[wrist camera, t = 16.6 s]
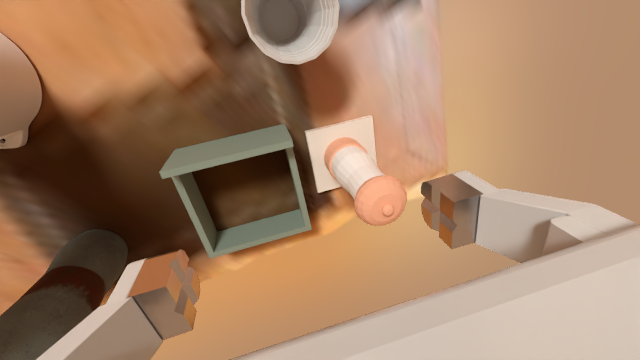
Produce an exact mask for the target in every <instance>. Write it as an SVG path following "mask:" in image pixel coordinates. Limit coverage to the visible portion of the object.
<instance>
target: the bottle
mask: <svg viewBox="0 0 640 360" xmlns="http://www.w3.org/2000/svg"><path fill="white" fill-rule="evenodd" d="M127 255H128V247H127V244H126V242H125V241H124V240H123V238H121V237H120V236H119V235H117V234H116V233H113V232H111V231H108V230H102V229H96V230H89V231H86V232H84V233H82V234H80V235H78V236H77V237H75V238H74V239H72V240H71V241H70V242H69V243H67V244H66V245H65V246H64V247H62V248H61V249H60V251H59V252H58V254H57V255H56V257H55V258H54V260H53V261H52V263H51V265H50V266H49V268H48V270H47V271H46V273H45V275H44V276H42V277H41V278H40V279H39V280H38V281H37V282H36V283H35V284H34V285H33V286H32V287H31V288H30V289H29V290H28V291H27V292H26V293H25V294H24V295H23V296H22V297H21V298H20V299H19V300H18V301H17V302H16V303H14V304H13V305H12V306H11V307H10V308H9V309H8V310H7V311H5V312H4V313H3V314H2V315H1V316H0V360H36V359H37V358H39V357H40V356H41V355H42V354H43V353H45V352H46V351H47V350H48V349H49V348H50V347H52V346H53V345H54V344H55V343H56V342H58V341H59V340H60V339H61V338H62V337H64V336H65V335H66V334H67V333H68V332H70V331H71V330H72V329H73V328H74V327H76V326H77V325H78V324H79V323H80V322H82V321H83V320H84V319H85V318H86V317H87V316H89V315H90V314H91V313H92V312H93V311H95V310H96V309H97V308H98V307H99V306H100V304H101V302H102V300H103V297H104V295H105V294H106V293H107V292H108V290H109V289H110V288H111V287H112V285H113V284H114V283H115V281H116V280H117V279H118V277H119V276H120V275H121V273H122V272H123V269H124V266H125V264H126V261H127Z"/></svg>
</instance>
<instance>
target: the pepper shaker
mask: <svg viewBox="0 0 640 360" xmlns="http://www.w3.org/2000/svg"><path fill="white" fill-rule="evenodd" d="M324 163H325V165H326V167H327V169H328V171H329V172H330V174H331V175H332V177H333V178H335V179H336V180H337V181H338V183H339V184H340V185H341V186H342V187H343V188H344V189H345V190H346V191H348V192H349V193H350V194H351V196H352V197H353V199H354V205H355V212H356V213H357V215H358V217H359V218H360V219H362V220H363V221H364V222H366V223H368V224H371V225H386V224H389V223H391V222H393V221H395V220H396V219H397V218H398V217H399V216H400V215H401V214H402V212H403V211H404V208H405V205H406V201H407V193H406V191H405V189H404V186H403V184H402V183H401V182H400V181H399V180H398V179H396V178H393V177H391V176H385V175H384V174H383V173H382V172H381V171H380V170H379V168H378V167H377V165H376V163H375V161H374V160H373V158H372V157H371V156H369V155H368V153H367V151H366V149H365V148H364V147H363V146H362V145H360V144H359V143H358V142H357V141H356V140H354V139H352V138H349V137H342V138H338V139H336V140H334V141H333V142H331V144H330V145H329V146H328V147H327V149H326V151H325V154H324Z"/></svg>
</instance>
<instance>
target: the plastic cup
mask: <svg viewBox="0 0 640 360" xmlns="http://www.w3.org/2000/svg"><path fill="white" fill-rule="evenodd" d="M241 15H242V18H243V20H244V23H245V26H246V28H247V31H248V34H249V36H250V38H251V39H252V40H253V41H254V43H255V44H256V45H257V46H258V47H259V49H260V50H261V51H262V52H263V53H264V54H266V55H267V56H269V57H271V58H273V59H275V60H277V61H278V62H280V63H288V64H302V63H305V62H308V61H310V60H313V59H316V58H317V57H318V56H319V55H320V54H321V53H322V52H323V51H324V50H325V49H326V48H327V47H328V46H329V45H330V43H331V41H332V38H333V36H334V34H335V32H336V30H337V27H338V16H339V3H338V0H241Z"/></svg>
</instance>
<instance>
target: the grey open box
mask: <svg viewBox="0 0 640 360" xmlns="http://www.w3.org/2000/svg"><path fill="white" fill-rule="evenodd" d="M293 147H294V145H293V141H292V138H291V136H290V134H289V132H288V130H287V127H286V125H285V124H282V125H277V126H273V127H269V128H265V129H260V130H256V131H252V132H248V133H243V134H239V135H235V136H231V137H226V138H222V139H218V140H214V141H210V142H205V143H201V144H197V145H193V146H188V147H184V148H180V149H176V150H174V151H173V153H172V154H171V156H170V157H169V159H168V160H167V162H166V163H165V165H164V166H163V167H162V169H161V170H160V172H159V173H160V175H161V177H162V179H164V178H168V177H171V178H172V180H173V182H174V184H175V186H176V188H177V190H178V192H179V194H180V197H181V199H182V201H183V203H184V205H185V207H186V209H187V211H188V213H189V216H190V218H191V220H192V222H193V224H194V226H195V228H196V230H197V232H198V235H199V237H200V239H201V241H202V243H203V245H204V247H205V249H206V251H207V254H208V256H209V258H214V257H217V256H221V255H224V254H228V253H231V252H235V251H238V250H242V249H245V248H249V247H252V246H256V245H259V244H263V243H267V242H270V241H274V240H277V239H281V238H284V237H288V236H291V235H295V234H298V233H302V232H305V231H309V230H312V228H311V224H310V219H309V215H308V211H307V207H306V202H305V198H304V194H303V190H302V185H301V181H300V177H299V172H298V168H297V164H296V160H295V155H294V151H293ZM282 149H285V151H286V155H287V159H288V163H289V167H290V171H291V175H292V179H293V183H294V187H295V191H296V195H297V200H298V204H299V208H300V209H298V210H295V211H291V212H287V213H284V214H280V215H276V216H273V217H269V218H266V219H262V220H258V221H255V222H251V223H247V224H244V225H240V226H236V227H233V228H229V229H225V230H222V231H218V232H217V230H216V228H215V226H214V223H213V221H212V219H211V216H210V214H209V212H208V209H207V207H206V205H205V202H204V200H203V198H202V195H201V193H200V191H199V189H198V186H197V184H196V182H195V179H194V177H193V175H192V172H193V171H197V170H201V169H205V168H209V167H213V166H217V165H221V164H225V163H229V162H233V161H237V160H241V159H246V158H250V157H254V156H258V155H262V154H266V153H270V152H274V151H278V150H282Z"/></svg>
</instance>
